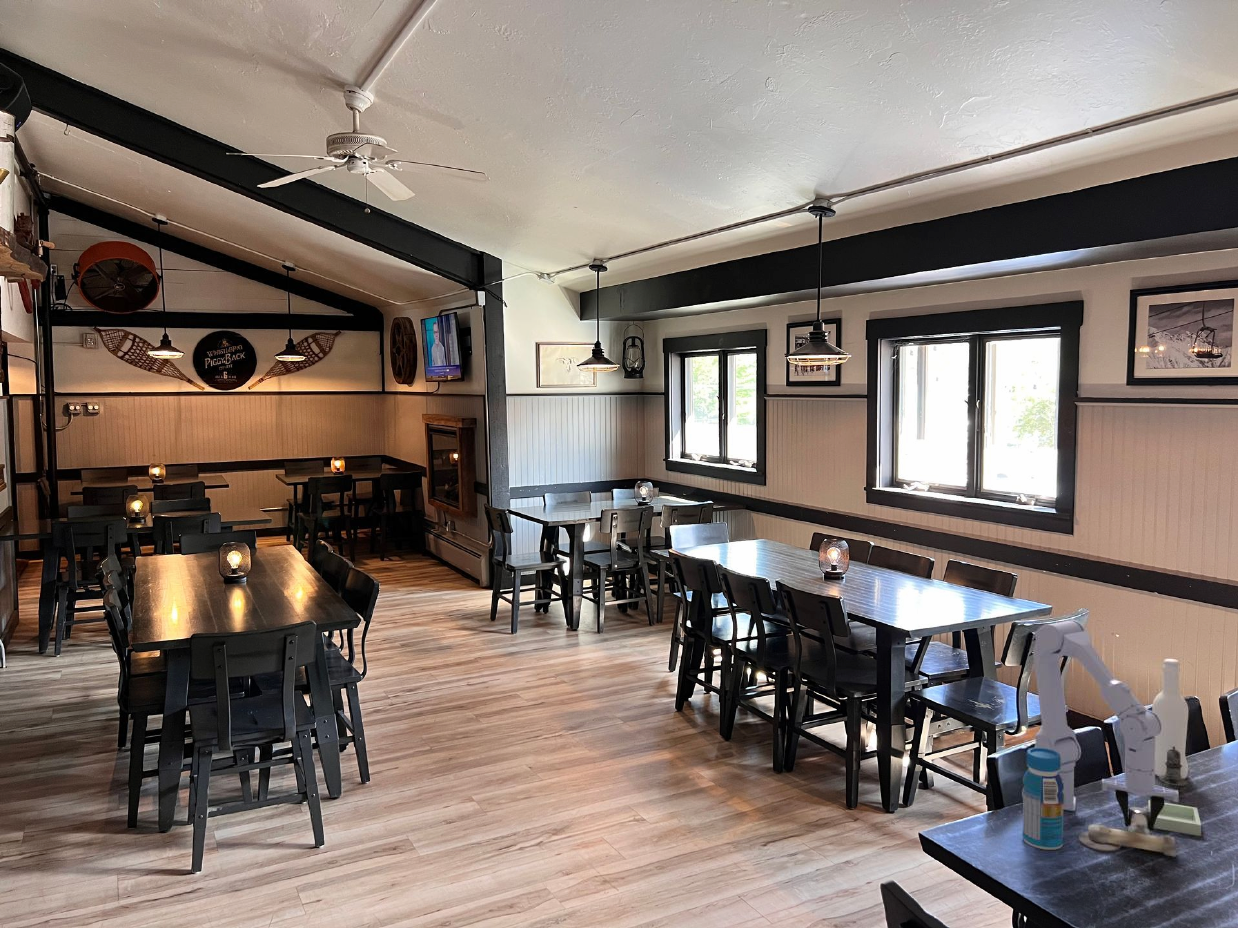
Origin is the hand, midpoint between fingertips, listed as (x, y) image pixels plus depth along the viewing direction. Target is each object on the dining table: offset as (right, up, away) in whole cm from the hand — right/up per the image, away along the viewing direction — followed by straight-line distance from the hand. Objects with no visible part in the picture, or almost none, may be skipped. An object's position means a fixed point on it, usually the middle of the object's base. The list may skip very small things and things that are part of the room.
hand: (1138, 826), depth 199 cm
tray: (+12, -2, +7) cm, 13 cm away
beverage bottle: (-22, -3, -1) cm, 22 cm away
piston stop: (0, -1, 0) cm, 1 cm away
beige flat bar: (-5, -2, -5) cm, 7 cm away
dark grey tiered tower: (+21, -1, +22) cm, 30 cm away
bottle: (+27, 0, +33) cm, 42 cm away
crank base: (-10, -3, -2) cm, 10 cm away
